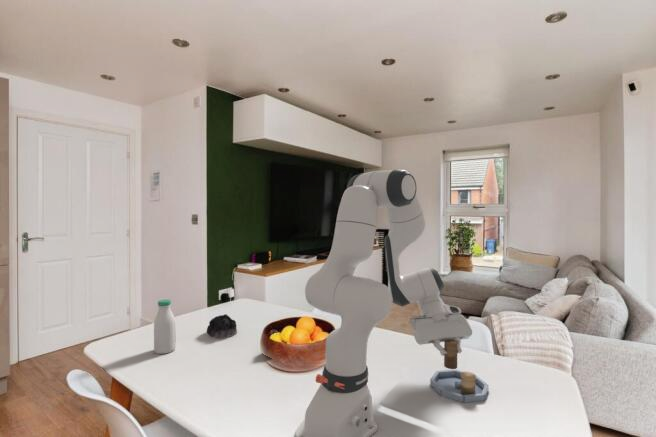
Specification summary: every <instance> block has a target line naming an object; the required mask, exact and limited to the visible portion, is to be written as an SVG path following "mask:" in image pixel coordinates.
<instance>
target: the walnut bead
mask: <svg viewBox="0 0 656 437" xmlns="http://www.w3.org/2000/svg"><path fill="white" fill-rule="evenodd" d="M443 346H444V347H443V348H446V351H447V354H446V355H443V361H444V362H443V367H444V368H446V369H447V370H457V368H458V353H457V348H458V342H457V341H455V340H445V341H444V345H443Z"/></svg>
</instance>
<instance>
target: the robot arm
mask: <svg viewBox="0 0 656 437" xmlns="http://www.w3.org/2000/svg"><path fill="white" fill-rule="evenodd" d="M378 209H385V211H386V215H387V218H388V223H389V229H388V234H386V236H384V241H383V246H384V258H385V264H386V265H385V267H386V273H387V285H386V284H384V283H382V282H379V281H378V280H374V279H371V278H368V277H367V278H366V277H360V276H356V275H355V276H354V273H355V271H356V268H357V267H358V266H359V265H360V264H361V263H363V262H365V261H367V260H368V259H369V258H371V256H372V255H373V252H374V246H375V245H374V244H375V237H376V228H377V221H378V220H377V218H378ZM425 227H426V221H425V214H424V212H423V209H422V204H421V201H420V199H419V197H418V194H417V182H416V180H415V177H414V176H413V175H412V173H410V172H409V171H408V170H405V169H398V168H397V169H393V170H389V169H388V170H387V169H386V170H373V171H368V172H364V173H363V172H362V173H359V174H355V175H353V176H352V177H351V178H350V179H349V180H348V182H347V185H346V189H345V190H344V192H343V194H342V197H341V200H340V202H339V206H338V210H337V215H336V221H335V227H334V234H333V239H332V244H331V249H330V252H329V254H328V256H327V258H326V260H325V261H324V263H323V265H322V266H321V267H320V269H318V271H316V272H315V273H314V274H312V275H311V276H310V277H309V278H308V280H307V281H306V284H305V289H304V295H305V299H306V301H307V303H308V305H310V306H311V307H314V308H315V309H317V310H319V311H320V312H323V313H324V312H325V313H328V314H332V315H336V316H339V317H340V318H341V323H340V327H338V328H336V329H333V330H332V331H331V332H330V333H329V334H328V335H327V337H326V339H325V363H324V365H323V370H322V372H321V374H322V375H321V374H320V373H318V374H316V376H315V382H316V383H318V384H320V385H319V387H318V389H317V390H316V392H315V394H314V395H313V397H312V399H311V401H310V403H309V404H308V406H307V407H306V410H305V413H304V420H303V421H302V422H301V423H300V425H299V426H298V427H297V428H296V430H295V432H294V437H370V436H372V435H373V434H374V433H376V432H377V431H378V430H379V428H378V424H377V422H376V421H375V420H374V407H373V396H372V393H371V391H370V389H369V386H368V383H369V370H368V369H369V368H368V366H367V353H368V344H369V338H370V335H371V333H372V331H373V329H374V328H375V327H376V325H379V323H382V322H383V321H384V320H385V319H386V318H387V317H388V315H389V314H390V312H391V309H392V306H393V304H394V305H396V306H399V307H406V306H407V305H410V304H412V303H415V302H416V303H417V305H418V308H419V310H418V311H419V312H420V315H418V316H417V315H416V316H412V318H410V320H409V324H410V326H411V328H412V331H413V336H414V340H415V342H416V343H417V344H418V345H419V346H420V345H427V344H428V345H429V344H433V347H435V349H436V350H438V351H439V353H440V355H441V356H442V357H444V355H446V354H447V351H446V348H444V347H443V346H442V344H441V343H443V342H444V341H445V340H455V341H457V342H458V348H457V354H461V353H462V352H463V349H462V347H461V343H462V341H461V340H467V339H469V338H470V337H471V336H473V329H472V327H471V325H470V324H469V322H468V320H467V319H466V317H465V316H464V315H463V314H462V310H461V308H460V307H458V306H453V305H451V304H450V305H449V304H446V303H445V302H444V301H443V299H442V298H441V297H440V295H442V292H443V290H444V288H445V284H444V282H443V280H442V278H441V276H440V274H439V272H438V270H436V269H435V268H433V267H431V266H429V267H424V268H421V269H418V270H415V271H412V272H410V273H406V274H402V275H401V271H400V262H399V258H400V256H401V254H403V251H405V250H406V249H407V248H408V247H409V246H410V245H411V246H412V244H414V243H415V242H416V241H418V239H420V237H421V236H422V234H423V232H424V231H425Z"/></svg>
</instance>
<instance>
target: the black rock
mask: <svg viewBox="0 0 656 437" xmlns="http://www.w3.org/2000/svg"><path fill="white" fill-rule="evenodd" d="M208 324H209V325H208V326H207V328H206V334H207V335H209V337H211V338H214V339H224V338H227V337H231V336H233V335H236V334H237V333H238V329H237V322H236V320H235V319H233V318H231V317H230V316H229V315H228V314H226V313H225V314H223V315H217V316H215V317H213V318H211V320H209V323H208Z"/></svg>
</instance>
